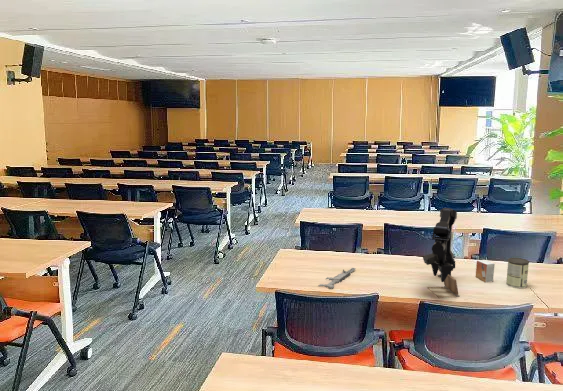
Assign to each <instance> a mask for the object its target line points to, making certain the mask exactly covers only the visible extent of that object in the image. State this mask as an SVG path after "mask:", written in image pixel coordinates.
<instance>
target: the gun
mask: <svg viewBox="0 0 563 391" xmlns="http://www.w3.org/2000/svg"><path fill="white" fill-rule="evenodd" d="M355 270H356V268H355V267H351V268H349V270H347V271H346V270H345V269H342V271H341V272H340V273H338V274H337V275H336V276H334V277H328V276H327V277H326V278H325V280H326V279H329V280H328V281H330V282H328V283H327V284H324V283H319V284H318V286H325V287H324V288H327V287H328V288H327V289H331V290H333V289H334V288H335V284H336V283H337V284H338V283H339V282H340V283H341V282H342V280H345V279H347V278H348V277H350V276H351V273H353V272H354V271H355Z"/></svg>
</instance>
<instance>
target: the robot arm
mask: <svg viewBox="0 0 563 391" xmlns="http://www.w3.org/2000/svg"><path fill="white" fill-rule="evenodd" d="M439 217H440V219H439V222H436V224H435V226H434V227H433V230H432V231H433V232H432V236H431V237H432V238H431V240H434V243H433V245H432V246H431V251H432V253H429V254H426V255H424V256H423V257H422V260H423V263H424V264H426V265H427V266H429V265H430V266H431V269H432V274H433V277H437V276H438V277H439V278H440V281H441V283H444V281H445V279H446V277H447V276H448V274H449V275H450V276H452V271H454V269H456V261H455V258H454V253H453V251H452V236H453V225H454V224H455V222H456V220H457V219H458V212H457V211H456V210H454V209H453V208H450V207H449V208H448V207H444V208H442V209H440V212H439ZM438 272H439V273H440V274H438Z"/></svg>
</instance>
